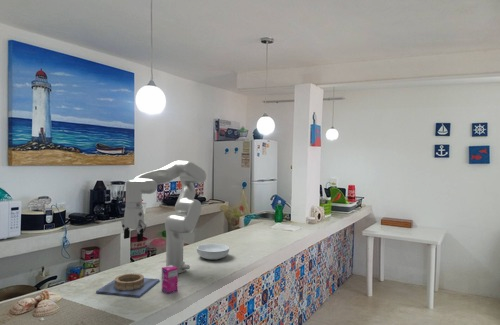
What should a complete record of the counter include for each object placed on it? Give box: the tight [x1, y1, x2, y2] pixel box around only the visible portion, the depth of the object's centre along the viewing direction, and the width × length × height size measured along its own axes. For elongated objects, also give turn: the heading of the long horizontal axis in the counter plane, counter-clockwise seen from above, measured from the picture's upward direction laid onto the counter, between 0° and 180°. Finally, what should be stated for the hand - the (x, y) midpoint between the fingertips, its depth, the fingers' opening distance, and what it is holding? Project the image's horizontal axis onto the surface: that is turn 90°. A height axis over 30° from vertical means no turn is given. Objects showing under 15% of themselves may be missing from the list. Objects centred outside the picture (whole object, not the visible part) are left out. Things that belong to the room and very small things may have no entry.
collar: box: [95, 272, 161, 298], centre depth 182 cm, size 22×22×4 cm
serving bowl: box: [196, 243, 230, 261], centre depth 236 cm, size 21×21×7 cm
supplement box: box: [161, 265, 179, 295], centre depth 178 cm, size 6×6×12 cm
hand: (133, 239), depth 181 cm, fingers open, 9 cm apart
